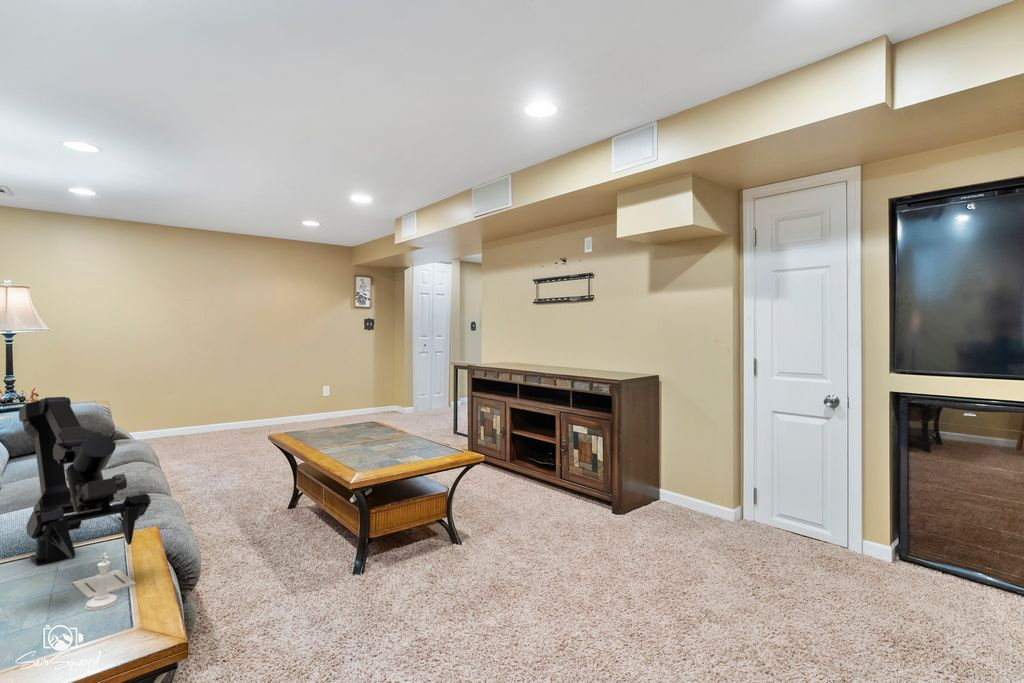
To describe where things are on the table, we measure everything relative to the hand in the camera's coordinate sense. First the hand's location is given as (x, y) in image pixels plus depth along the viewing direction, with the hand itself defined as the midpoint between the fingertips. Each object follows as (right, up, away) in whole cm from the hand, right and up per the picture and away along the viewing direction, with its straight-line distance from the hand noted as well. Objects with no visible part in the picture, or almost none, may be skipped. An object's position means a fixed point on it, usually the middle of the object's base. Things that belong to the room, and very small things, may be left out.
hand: (102, 550), depth 101 cm
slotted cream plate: (-4, -10, +6) cm, 12 cm away
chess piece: (+1, -10, -2) cm, 10 cm away
